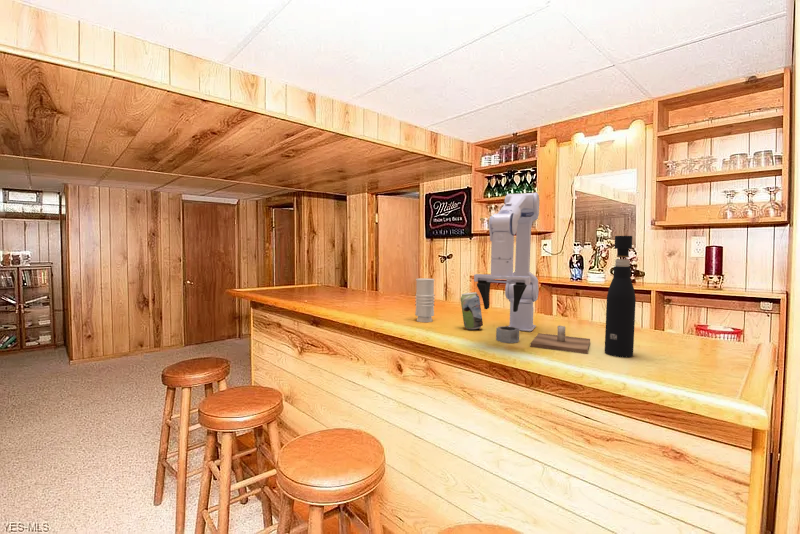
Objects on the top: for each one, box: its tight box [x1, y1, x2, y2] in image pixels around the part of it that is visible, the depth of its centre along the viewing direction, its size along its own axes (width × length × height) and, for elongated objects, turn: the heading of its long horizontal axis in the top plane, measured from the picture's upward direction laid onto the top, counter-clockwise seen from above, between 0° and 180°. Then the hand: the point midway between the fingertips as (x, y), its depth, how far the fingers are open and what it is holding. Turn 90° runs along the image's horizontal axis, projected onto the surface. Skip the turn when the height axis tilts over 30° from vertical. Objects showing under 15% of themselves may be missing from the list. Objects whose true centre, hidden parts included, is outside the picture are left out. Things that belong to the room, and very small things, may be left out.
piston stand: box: [529, 325, 591, 355], centre depth 110 cm, size 14×14×5 cm
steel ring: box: [495, 325, 520, 344], centre depth 114 cm, size 6×6×4 cm
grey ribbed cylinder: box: [414, 277, 436, 323], centre depth 142 cm, size 7×7×15 cm
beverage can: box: [460, 291, 484, 330], centre depth 129 cm, size 6×7×12 cm
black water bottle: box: [604, 235, 637, 358], centre depth 100 cm, size 6×6×30 cm
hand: (500, 309), depth 105 cm, fingers open, 7 cm apart
